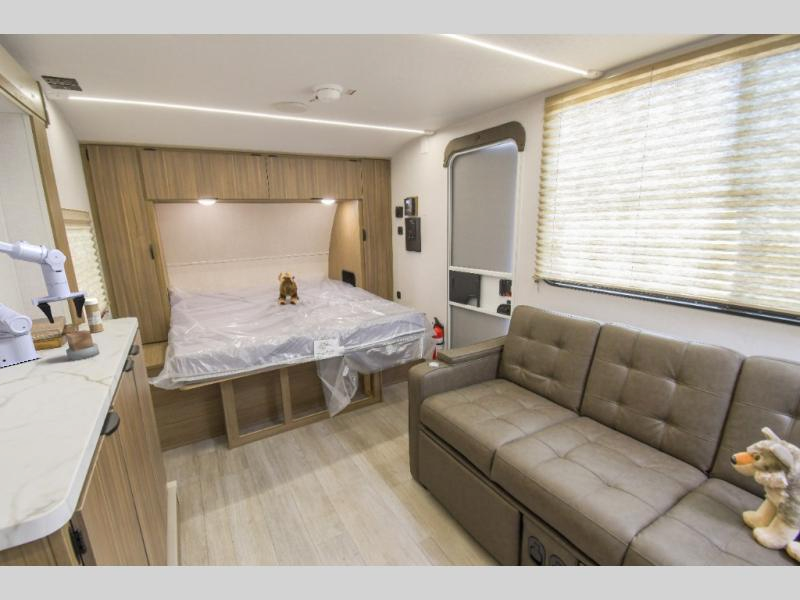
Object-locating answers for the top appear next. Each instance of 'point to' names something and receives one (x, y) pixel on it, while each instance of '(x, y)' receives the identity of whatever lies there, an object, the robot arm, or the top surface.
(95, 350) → the grey rounded dome
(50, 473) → the top surface
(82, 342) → the walnut block
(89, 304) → the sprinkles bottle
